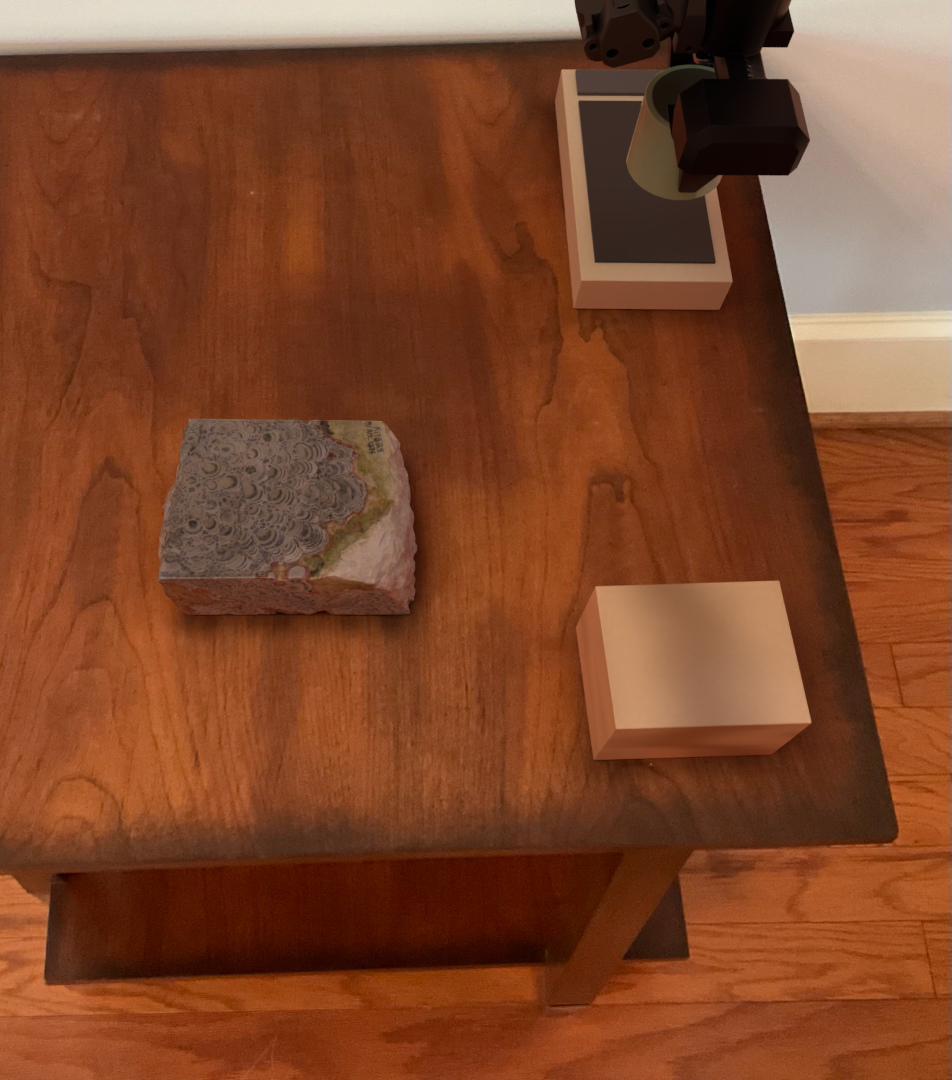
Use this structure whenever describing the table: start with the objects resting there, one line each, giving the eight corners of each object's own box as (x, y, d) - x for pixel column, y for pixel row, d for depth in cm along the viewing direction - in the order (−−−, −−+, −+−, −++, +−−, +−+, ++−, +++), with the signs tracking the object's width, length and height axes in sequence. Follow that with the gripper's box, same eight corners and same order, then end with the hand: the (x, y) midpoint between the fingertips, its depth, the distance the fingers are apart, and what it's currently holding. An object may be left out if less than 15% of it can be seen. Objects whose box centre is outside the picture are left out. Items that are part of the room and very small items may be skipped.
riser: (744, 621, 64) (779, 580, 59) (772, 754, 60) (812, 723, 55) (575, 627, 64) (595, 585, 59) (593, 760, 61) (616, 729, 55)
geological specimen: (164, 417, 65) (415, 410, 64) (184, 470, 70) (415, 465, 69) (147, 576, 60) (418, 572, 59) (169, 621, 65) (419, 618, 64)
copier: (554, 101, 83) (562, 62, 80) (685, 102, 83) (698, 62, 80) (573, 309, 75) (582, 274, 71) (719, 310, 74) (736, 275, 71)
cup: (689, 118, 69) (712, 51, 65) (742, 181, 67) (770, 116, 62) (608, 148, 68) (625, 82, 64) (659, 213, 66) (681, 149, 61)
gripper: (584, -206, 57) (540, 47, 71) (615, 37, 49) (558, 269, 63) (797, -206, 57) (711, 47, 71) (865, 38, 49) (752, 271, 63)
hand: (680, 152), depth 67 cm, fingers closed on cup, 6 cm apart
